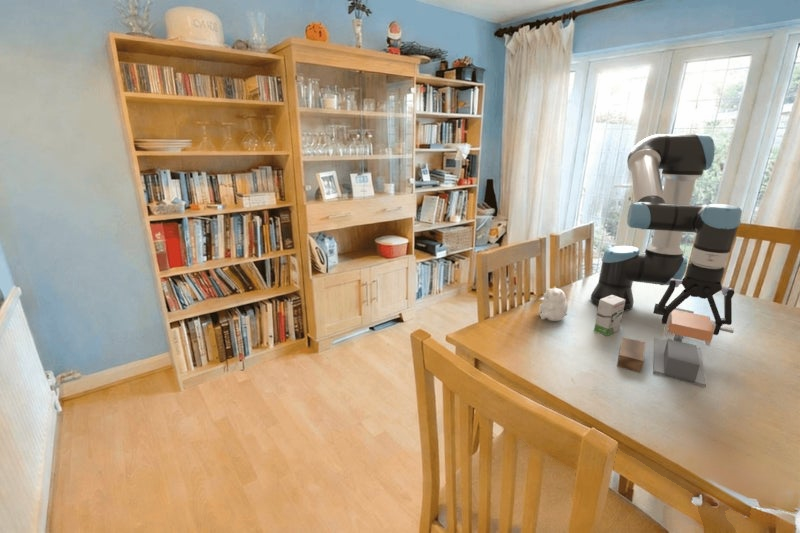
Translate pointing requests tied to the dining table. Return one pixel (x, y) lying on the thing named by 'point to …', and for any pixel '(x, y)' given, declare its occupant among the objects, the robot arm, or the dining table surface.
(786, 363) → the dining table surface
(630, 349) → the brown wooden block
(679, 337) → the grey t-shaped piece
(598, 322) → the ink box
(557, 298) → the figurine
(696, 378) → the block
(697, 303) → the dining table surface
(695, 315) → the cover
